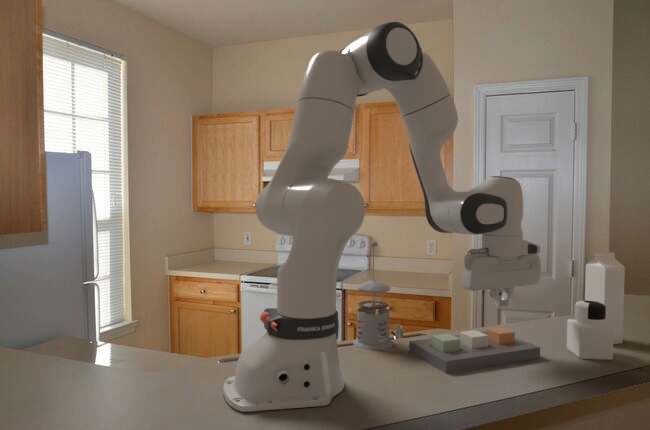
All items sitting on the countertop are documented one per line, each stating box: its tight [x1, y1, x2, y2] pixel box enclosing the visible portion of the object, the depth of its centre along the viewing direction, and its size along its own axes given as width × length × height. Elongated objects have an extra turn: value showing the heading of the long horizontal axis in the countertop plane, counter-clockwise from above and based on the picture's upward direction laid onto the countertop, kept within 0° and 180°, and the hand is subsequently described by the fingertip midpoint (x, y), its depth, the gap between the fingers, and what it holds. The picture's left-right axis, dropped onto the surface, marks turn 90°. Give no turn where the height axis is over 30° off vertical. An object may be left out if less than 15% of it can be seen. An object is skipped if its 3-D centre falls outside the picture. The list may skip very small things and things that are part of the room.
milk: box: [584, 252, 626, 345], centre depth 117 cm, size 6×6×22 cm
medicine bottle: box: [566, 300, 614, 361], centre depth 107 cm, size 7×7×12 cm
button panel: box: [408, 331, 541, 374], centre depth 107 cm, size 25×14×2 cm, turn 111°
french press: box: [352, 240, 394, 351], centre depth 115 cm, size 10×12×25 cm
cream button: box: [459, 329, 488, 349], centre depth 107 cm, size 4×4×3 cm
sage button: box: [431, 333, 460, 353], centre depth 104 cm, size 4×4×3 cm
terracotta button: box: [485, 326, 516, 345], centre depth 109 cm, size 4×4×3 cm
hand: (501, 306), depth 109 cm, fingers closed
